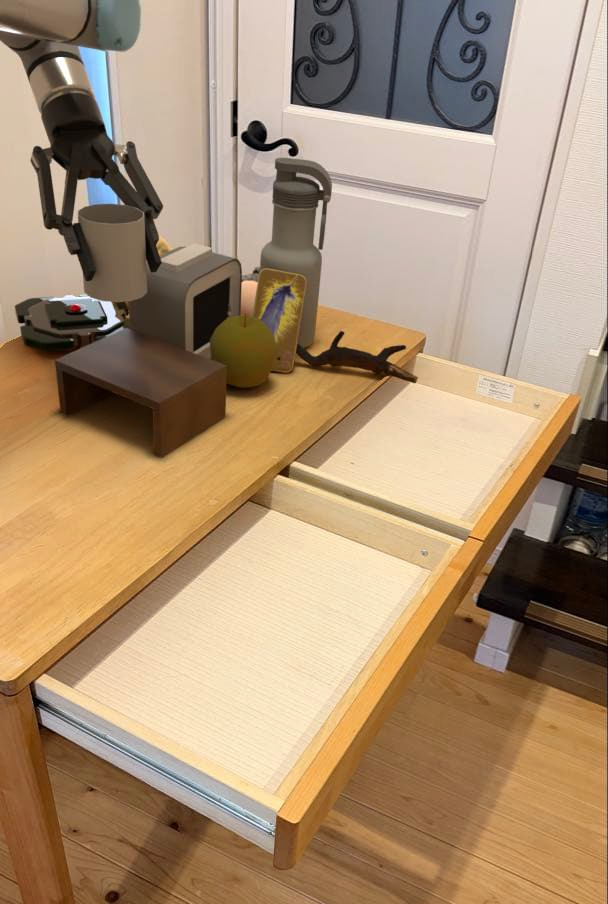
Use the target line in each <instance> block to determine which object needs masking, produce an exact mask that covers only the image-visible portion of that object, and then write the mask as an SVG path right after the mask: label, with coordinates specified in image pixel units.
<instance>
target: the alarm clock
mask: <svg viewBox="0 0 608 904" xmlns="http://www.w3.org/2000/svg"><path fill="white" fill-rule="evenodd" d="M160 258H161V261H162V263H161V265H160V267H159V268H158V270H157V271H156V272H152V273H151V271H150V268H149V265H148V262H146V274H147V293H146V294H145V295H144V296H143V297H142V298H139V299H136V300H133V301H127V302H128V303H127V304H128V308H129V315H128V318H129V322H130V330H133V331H136V332H138V333H141V334H144V335H146V336H149V337H152V338H154V339H157V340H160V341H162V342H165V343H168V344H171V345H173V346H176V347H179V348H181V349H184V350H187V351H189V352H192V353H195V354H197V355H200V356H203V357H205V358H208V359H211V351H210V339H211V337H212V335H213V333H214V331H215V329H216V328H217V327H218V326H219V325H220V324H221V323H222V322H223V321H225V320H226V319H227V318H228V315H227V312H228V309H229V307H228V303H229V305H230V306H231V308H232V309H231V316H240V314H241V285H242V275H243V270H242V263H241V261H240V260H239V259H238V258H237V257H232V256H228V255H225V254H221V253H217V252H213V248H212V247H210V246H206V245H202V244H199V243H196V242H195V243H191V244H190V245H188V246H177V247H176V248H174V249H173V248H172V250H171V251H169V252H167V253H165V254H162V255H160ZM231 316H230V317H231Z"/></svg>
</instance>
